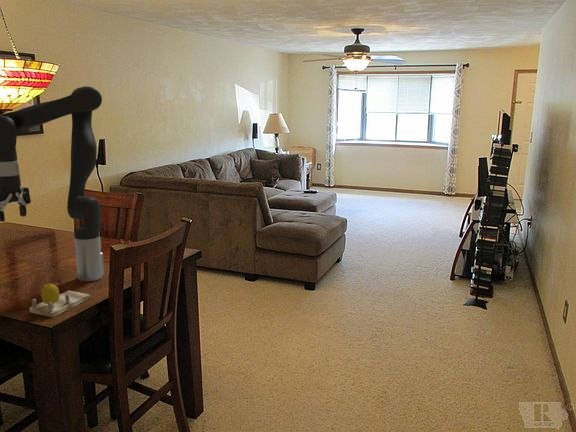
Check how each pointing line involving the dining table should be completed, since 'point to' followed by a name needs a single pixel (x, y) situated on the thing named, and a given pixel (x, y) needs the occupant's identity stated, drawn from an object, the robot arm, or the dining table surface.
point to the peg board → (59, 304)
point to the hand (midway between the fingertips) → (12, 218)
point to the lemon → (50, 293)
